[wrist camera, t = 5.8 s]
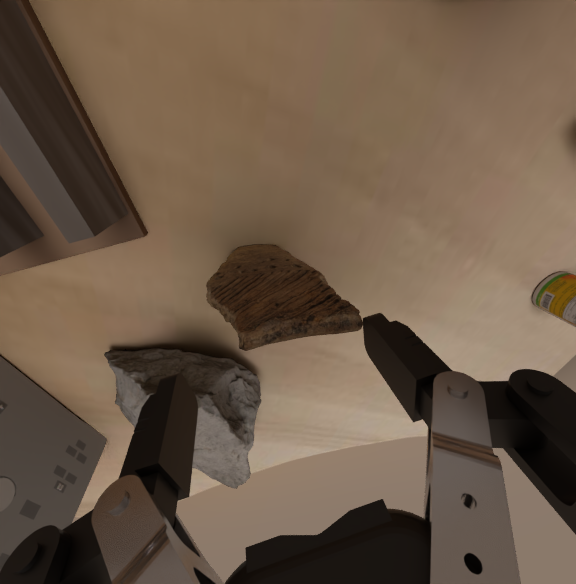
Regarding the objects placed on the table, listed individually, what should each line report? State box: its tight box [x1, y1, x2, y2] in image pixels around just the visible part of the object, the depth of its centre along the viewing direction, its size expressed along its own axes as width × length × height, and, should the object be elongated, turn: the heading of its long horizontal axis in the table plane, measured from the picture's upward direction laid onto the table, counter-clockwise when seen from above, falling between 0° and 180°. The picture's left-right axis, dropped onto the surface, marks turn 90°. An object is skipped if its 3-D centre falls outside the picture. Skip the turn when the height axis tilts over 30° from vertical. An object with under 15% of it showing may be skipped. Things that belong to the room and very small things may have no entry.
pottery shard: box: [206, 245, 363, 351], centre depth 18 cm, size 8×3×15 cm, turn 92°
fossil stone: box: [104, 348, 261, 488], centre depth 28 cm, size 20×15×10 cm
